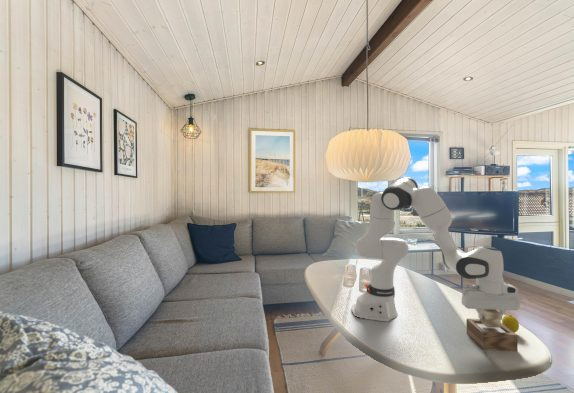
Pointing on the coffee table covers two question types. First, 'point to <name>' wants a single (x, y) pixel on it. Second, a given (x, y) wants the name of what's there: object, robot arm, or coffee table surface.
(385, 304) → the robot arm
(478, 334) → the walnut frame
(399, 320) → the coffee table surface
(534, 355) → the coffee table surface
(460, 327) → the coffee table surface
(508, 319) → the lemon
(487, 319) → the ash block
